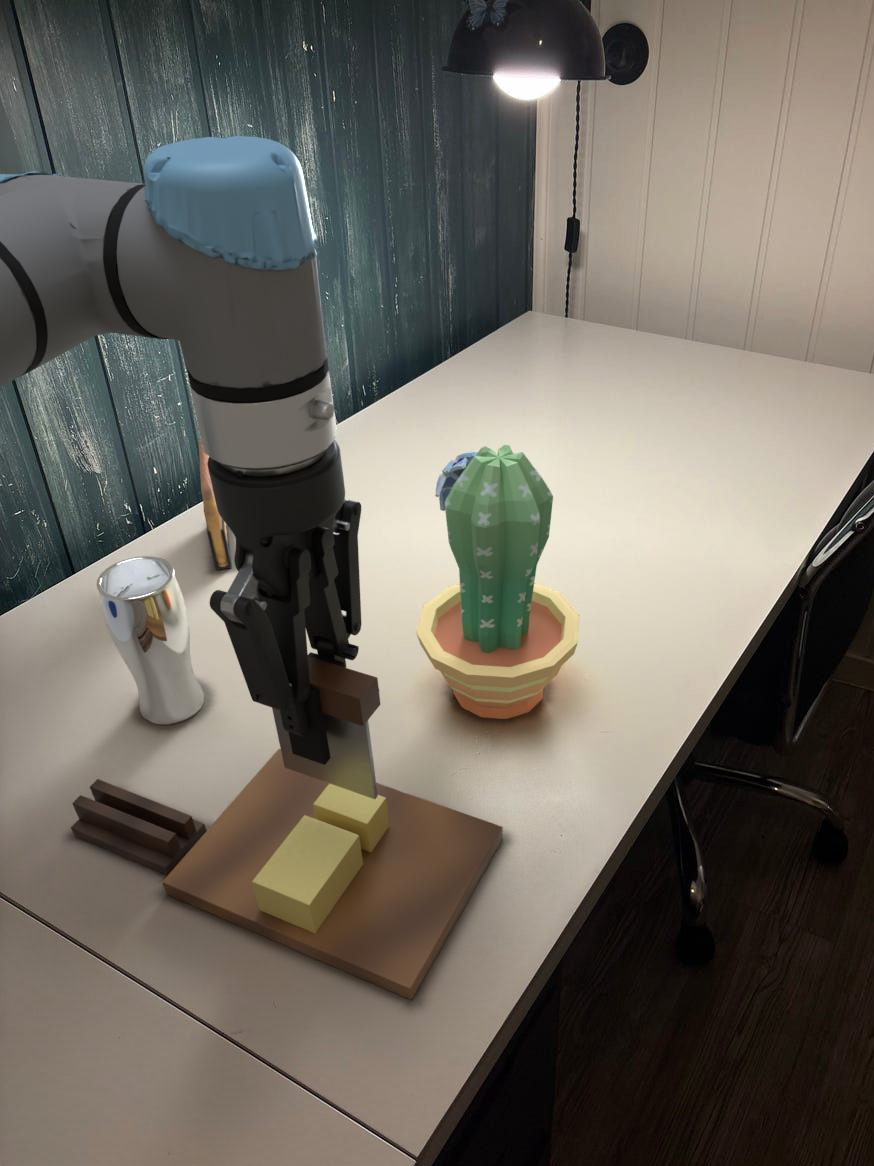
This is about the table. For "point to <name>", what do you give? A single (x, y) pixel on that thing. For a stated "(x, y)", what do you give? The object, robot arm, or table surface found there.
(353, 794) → the butter pat
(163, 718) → the beer glass
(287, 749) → the cleaver
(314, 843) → the butter
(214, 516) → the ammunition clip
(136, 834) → the knife holder
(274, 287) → the robot arm
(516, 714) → the potted cactus
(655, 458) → the table surface
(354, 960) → the board
